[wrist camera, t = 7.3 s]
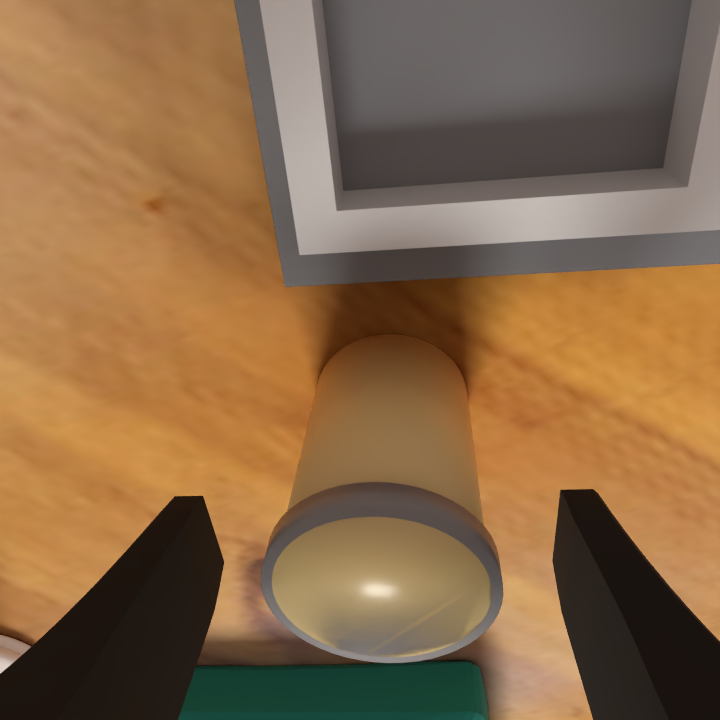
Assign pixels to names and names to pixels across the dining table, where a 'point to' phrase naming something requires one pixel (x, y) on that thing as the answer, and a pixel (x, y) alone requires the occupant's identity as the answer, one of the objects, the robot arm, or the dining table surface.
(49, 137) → the dining table surface
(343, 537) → the beige cylinder
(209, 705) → the digital multimeter
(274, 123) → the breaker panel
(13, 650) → the chess piece
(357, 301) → the dining table surface
